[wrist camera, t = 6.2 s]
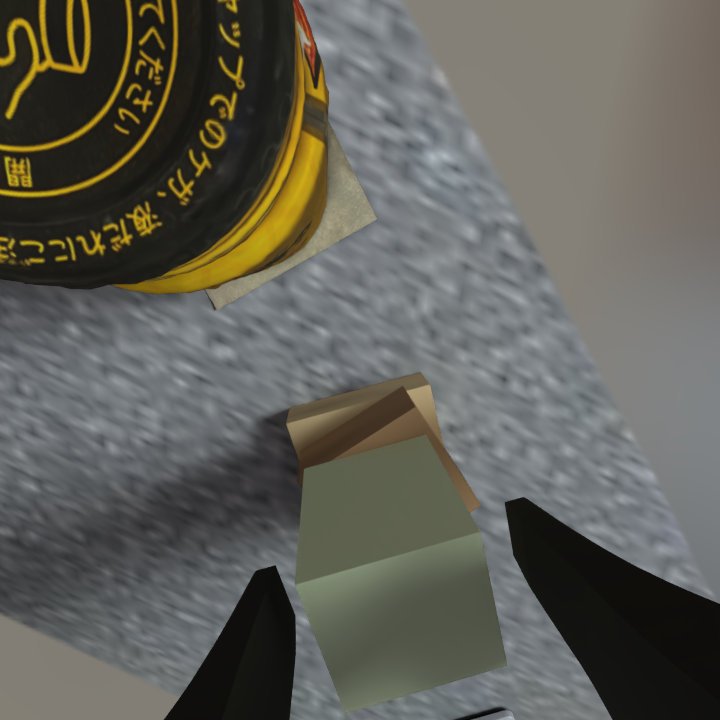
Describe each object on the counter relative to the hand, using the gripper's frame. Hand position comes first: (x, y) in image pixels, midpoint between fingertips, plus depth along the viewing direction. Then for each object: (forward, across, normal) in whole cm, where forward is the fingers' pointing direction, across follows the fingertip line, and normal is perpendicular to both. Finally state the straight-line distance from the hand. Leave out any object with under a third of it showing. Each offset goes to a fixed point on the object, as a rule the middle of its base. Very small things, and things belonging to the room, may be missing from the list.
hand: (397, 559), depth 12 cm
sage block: (+3, 0, 0) cm, 3 cm away
